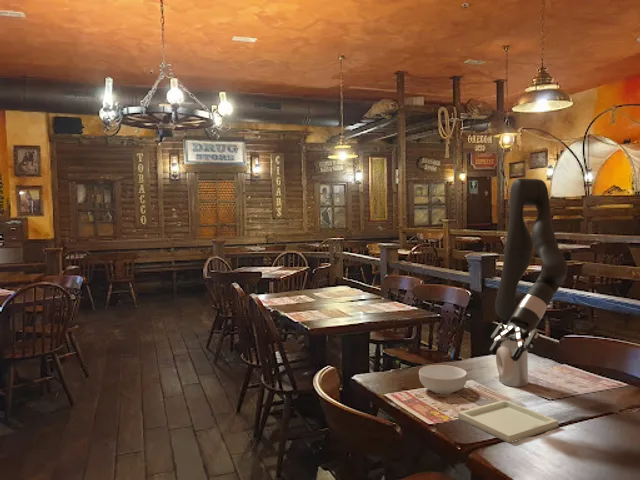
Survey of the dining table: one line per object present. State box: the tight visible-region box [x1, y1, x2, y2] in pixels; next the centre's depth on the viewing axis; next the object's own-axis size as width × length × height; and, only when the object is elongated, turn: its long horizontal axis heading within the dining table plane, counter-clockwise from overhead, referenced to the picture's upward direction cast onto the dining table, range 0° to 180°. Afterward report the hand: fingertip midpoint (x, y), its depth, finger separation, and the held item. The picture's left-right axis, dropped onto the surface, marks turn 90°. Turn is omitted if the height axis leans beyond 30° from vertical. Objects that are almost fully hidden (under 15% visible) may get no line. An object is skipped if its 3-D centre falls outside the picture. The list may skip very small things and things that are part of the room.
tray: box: [457, 399, 559, 444], centre depth 153 cm, size 20×20×2 cm
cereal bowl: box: [418, 364, 468, 395], centre depth 183 cm, size 17×17×7 cm
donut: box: [495, 345, 515, 380], centre depth 152 cm, size 10×4×10 cm, turn 177°
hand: (502, 356), depth 152 cm, fingers closed on donut, 7 cm apart
